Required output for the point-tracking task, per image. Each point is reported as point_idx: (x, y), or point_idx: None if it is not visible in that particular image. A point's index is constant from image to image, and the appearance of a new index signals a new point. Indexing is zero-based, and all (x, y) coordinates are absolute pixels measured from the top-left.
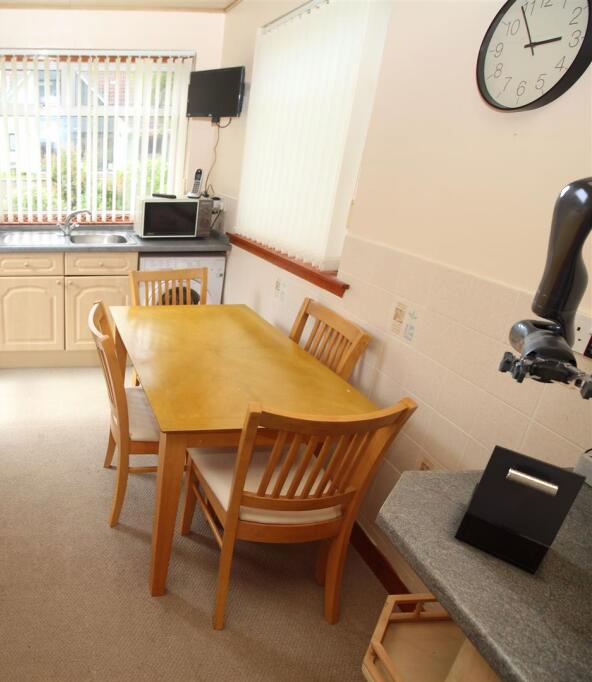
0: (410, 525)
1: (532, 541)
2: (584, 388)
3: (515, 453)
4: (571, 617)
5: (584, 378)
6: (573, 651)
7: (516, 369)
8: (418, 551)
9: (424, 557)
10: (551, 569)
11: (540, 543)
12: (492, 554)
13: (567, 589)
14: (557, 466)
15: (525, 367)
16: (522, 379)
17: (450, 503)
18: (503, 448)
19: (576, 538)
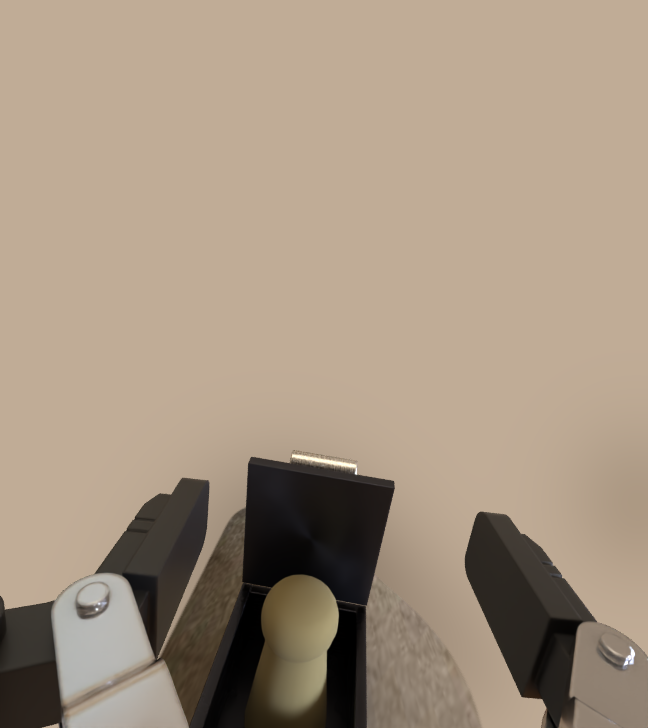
0: (420, 645)
1: (265, 587)
2: (186, 548)
3: (359, 476)
4: (213, 575)
5: (139, 615)
6: (232, 529)
7: (551, 568)
8: (389, 588)
9: (380, 581)
10: (199, 675)
11: (254, 586)
12: None
13: (193, 631)
14: (291, 469)
15: (537, 594)
16: (473, 543)
17: None
18: (380, 479)
19: None
